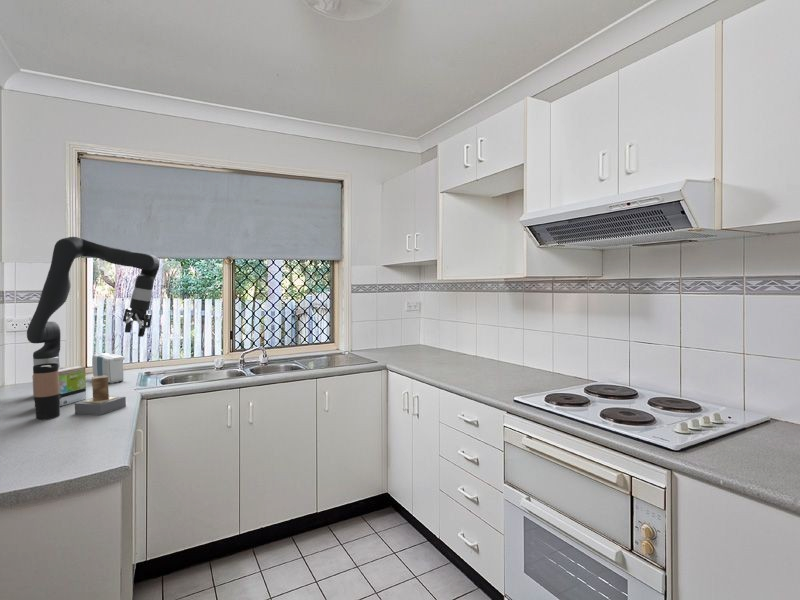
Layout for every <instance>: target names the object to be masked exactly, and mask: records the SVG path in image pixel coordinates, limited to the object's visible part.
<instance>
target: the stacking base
mask: <svg viewBox="0 0 800 600" xmlns="http://www.w3.org/2000/svg"><path fill="white" fill-rule="evenodd" d="M126 398H127V397H126V396H120V395H118V396H117V395H109V399H108V400H101V401H93V397H91V398H86V399H85V400H81V401H77V402H74V414H76V413H77V414H79V415H91V416H92V415H94V416H95V415H96V416H103V415H105V414H108V413H110V412H113V411H116V410H120V409H123V408H125V407H127V404H126V403H127V401H126Z"/></svg>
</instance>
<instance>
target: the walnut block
mask: <svg viewBox="0 0 800 600" xmlns="http://www.w3.org/2000/svg"><path fill="white" fill-rule="evenodd" d="M91 386H92V398H93V401H101V400H108V399H109V396H110V395H109V393H110V392H109V383H108V376H107V375H103V376H94V377H93V376H91Z"/></svg>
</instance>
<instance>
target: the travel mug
mask: <svg viewBox="0 0 800 600" xmlns="http://www.w3.org/2000/svg"><path fill="white" fill-rule="evenodd" d="M32 371H33V372H32V373H33V375H32V376H33V378H32V381H33V380H34V396H33V399H34V408H35V410H34V411H35V419H36V420H37V419H38V421H40V420H41V421H45V420H44V419H46V420H52V419H55V418H58V417H59V416H60V415H61V413H60V412H61V406H60V391H59V374H58V364H57V363H47V364H39V365H35V366H34V365H33V366H32ZM51 418H52V419H51Z"/></svg>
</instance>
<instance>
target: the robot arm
mask: <svg viewBox="0 0 800 600" xmlns="http://www.w3.org/2000/svg"><path fill="white" fill-rule="evenodd" d="M52 252H53V253H52V255H51V256H52V257H51V261H50V262H51V263H50V267H49V270H48V272H47V276H46V279H45V282H44V285H43V288H42V291H41V294H40V298H39V300H38V303H37V305H36V309H35V312H34V314H33V316H32V318H31V320H30V322H29V324H28V327H27V329H26V338H27V340H28V342H29V343H30V344H43V346H42V347H40V348H39V349H36V350H35V351H34V352H33V354H32V360H33V361H32V362H33V363H32V364H33V366H35V365H39V364H47V363H57V364H58V368H60V367H61V366H60V351H61V335H62V333H61V328H60V326H59V324H58V323H57V322H55V321H49V319H50V318H51V317H52V315H53V314H54V313H55V312H57V311H58V310H59V309H60V308H61V307H62V306H63V305H64V304H65V303H66V301H67V299H68V296H69V295H70V292H71V284H72V283H71V280H70V279H71V278H70V271H71V268H72V265H73V264H74V261H75V259H79V258H81V257H88V258H95V259H100V260H102V261H105V262H107V263H109V264H114V265H117V266H121V267H122V266H123V267H131V268H135V269H138V270H140V274H139V275H137V276H136V279H135V283H134V288H133V290H132V294H131V298H130V299H131V300H130V304H129V308H125V309H124V314H123V318H122V322H124V323H125V326H124V327H125V328H124V333H131V330H132V325H133V323H134V322H137V324H138V325H139V329H138V333H137V337H141V338H143V337H144V336H145V334H146V333H145V332H146V329H150V328H151V323H152V316H153V315H152V314H151V313H147V312H148V311H149V310H150V306H151V301H152V297H153V287H154V284H155V283H154V282H155V279H156V277H157V275H158V272H159V269H160V263H161V262H160V259H159V258H158V257H157V256H156V255H154V254H149V253H143V252H135V251H131V250H129V249H128V250H127V249H122V248H118V247H111V246H107V245H103V244H100V243H99V244H98V243H96V242H93V241H89V240H87V239H83V238H80V237H78V236H68V237H64V238H60V239H59V240H57V241H56V243H55V244H54V247H53V251H52ZM31 378H32V394H33V397H34V380H33V375H32V377H31Z"/></svg>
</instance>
